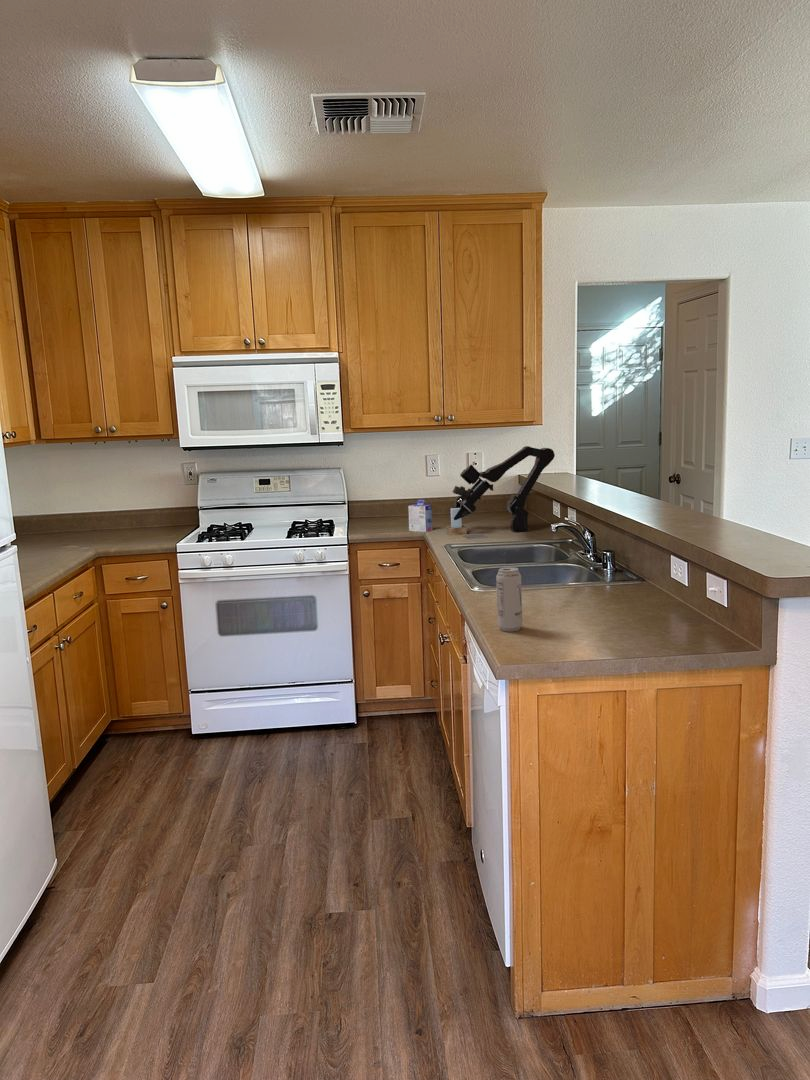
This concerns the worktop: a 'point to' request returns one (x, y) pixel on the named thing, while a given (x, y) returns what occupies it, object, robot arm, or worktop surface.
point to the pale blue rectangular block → (457, 522)
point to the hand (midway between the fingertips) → (452, 518)
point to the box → (456, 530)
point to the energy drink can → (509, 599)
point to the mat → (475, 536)
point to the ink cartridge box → (420, 517)
